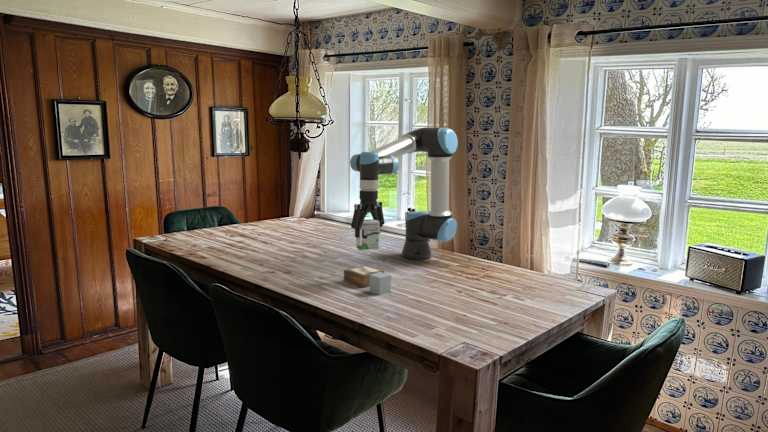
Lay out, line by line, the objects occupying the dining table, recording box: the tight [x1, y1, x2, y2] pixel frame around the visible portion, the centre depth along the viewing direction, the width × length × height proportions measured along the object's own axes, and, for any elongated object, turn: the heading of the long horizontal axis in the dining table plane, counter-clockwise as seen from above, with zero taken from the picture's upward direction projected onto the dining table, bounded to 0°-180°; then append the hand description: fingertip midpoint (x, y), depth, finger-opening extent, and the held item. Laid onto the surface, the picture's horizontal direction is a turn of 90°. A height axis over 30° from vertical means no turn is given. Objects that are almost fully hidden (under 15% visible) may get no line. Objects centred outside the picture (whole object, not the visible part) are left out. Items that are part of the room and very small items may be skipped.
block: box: [368, 272, 392, 296], centre depth 212 cm, size 6×6×7 cm
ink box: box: [356, 219, 380, 251], centre depth 221 cm, size 9×5×12 cm, turn 107°
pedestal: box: [343, 265, 385, 289], centre depth 224 cm, size 12×12×5 cm
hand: (367, 243), depth 222 cm, fingers closed on ink box, 9 cm apart
